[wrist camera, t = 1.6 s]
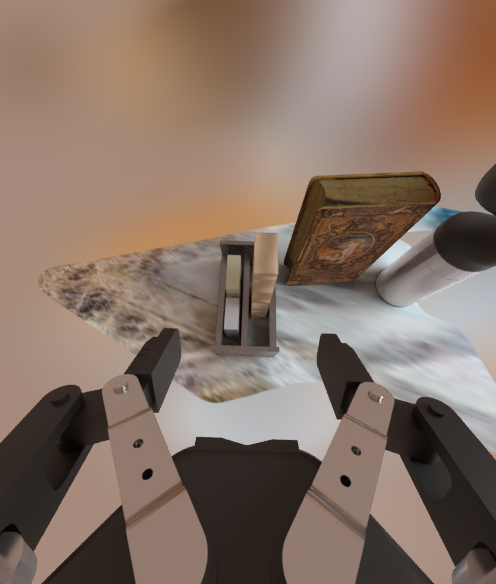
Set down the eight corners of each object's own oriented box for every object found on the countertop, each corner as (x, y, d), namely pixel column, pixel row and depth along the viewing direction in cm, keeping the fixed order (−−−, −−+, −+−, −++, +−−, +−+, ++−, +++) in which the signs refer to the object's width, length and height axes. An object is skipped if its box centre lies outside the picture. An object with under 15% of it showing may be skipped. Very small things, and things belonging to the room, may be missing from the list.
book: (352, 261, 54) (431, 171, 31) (357, 282, 52) (446, 203, 29) (282, 264, 54) (310, 175, 31) (285, 286, 52) (317, 209, 29)
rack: (272, 261, 54) (277, 242, 47) (273, 356, 46) (279, 351, 39) (223, 260, 54) (220, 240, 47) (216, 354, 46) (211, 349, 39)
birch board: (265, 292, 51) (277, 233, 31) (265, 318, 49) (278, 273, 29) (251, 291, 51) (255, 232, 31) (251, 318, 49) (254, 273, 29)
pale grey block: (240, 308, 50) (239, 298, 44) (238, 336, 48) (237, 329, 41) (228, 308, 50) (225, 297, 44) (226, 336, 48) (223, 329, 41)
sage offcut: (241, 275, 53) (240, 255, 45) (240, 304, 50) (239, 288, 42) (230, 275, 53) (227, 254, 45) (228, 304, 50) (225, 288, 42)
